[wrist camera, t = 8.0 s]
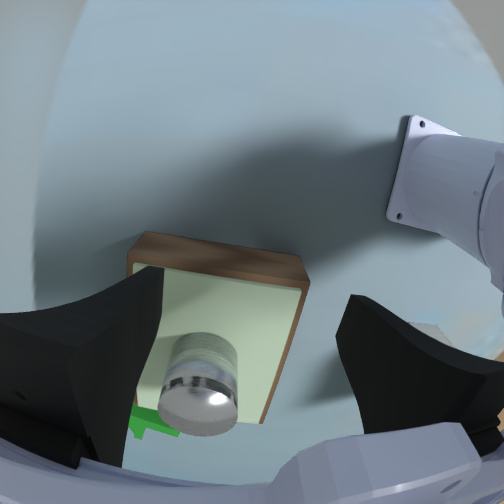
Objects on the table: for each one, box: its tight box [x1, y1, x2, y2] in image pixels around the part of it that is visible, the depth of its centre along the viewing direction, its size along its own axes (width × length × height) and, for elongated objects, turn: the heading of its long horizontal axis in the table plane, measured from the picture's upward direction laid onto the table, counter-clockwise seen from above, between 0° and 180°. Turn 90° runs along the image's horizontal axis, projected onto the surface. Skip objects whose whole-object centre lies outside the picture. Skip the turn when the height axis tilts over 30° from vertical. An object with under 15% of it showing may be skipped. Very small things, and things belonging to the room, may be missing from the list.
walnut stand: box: [127, 231, 310, 424], centre depth 22 cm, size 11×14×4 cm
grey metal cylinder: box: [157, 332, 238, 436], centre depth 18 cm, size 4×4×5 cm
